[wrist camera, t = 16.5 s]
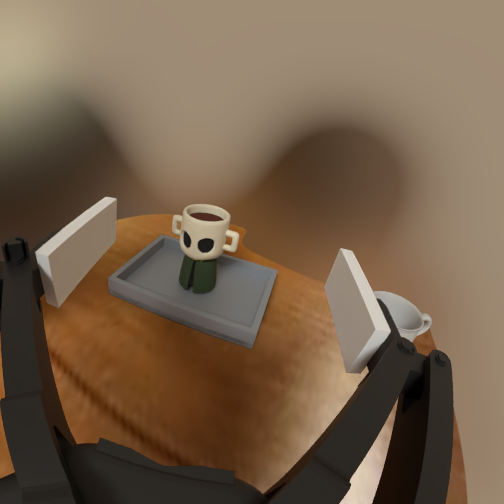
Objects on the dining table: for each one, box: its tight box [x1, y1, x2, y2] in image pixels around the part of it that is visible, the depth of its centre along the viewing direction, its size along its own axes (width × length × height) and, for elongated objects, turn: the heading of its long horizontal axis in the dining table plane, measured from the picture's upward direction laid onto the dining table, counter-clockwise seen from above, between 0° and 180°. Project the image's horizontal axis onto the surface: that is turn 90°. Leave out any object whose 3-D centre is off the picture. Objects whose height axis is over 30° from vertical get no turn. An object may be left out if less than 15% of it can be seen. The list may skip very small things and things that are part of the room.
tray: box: [108, 234, 278, 349], centre depth 47 cm, size 24×18×3 cm
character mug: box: [172, 204, 239, 293], centre depth 44 cm, size 11×7×13 cm, turn 75°
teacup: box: [373, 291, 431, 342], centre depth 42 cm, size 14×11×8 cm
